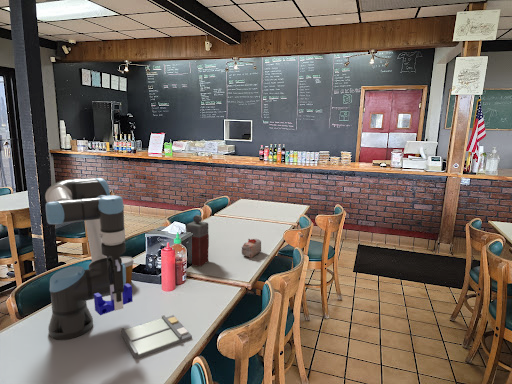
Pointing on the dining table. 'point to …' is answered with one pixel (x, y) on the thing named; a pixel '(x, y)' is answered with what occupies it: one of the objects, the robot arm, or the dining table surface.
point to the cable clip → (108, 306)
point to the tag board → (155, 336)
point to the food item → (251, 248)
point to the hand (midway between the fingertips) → (116, 305)
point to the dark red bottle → (199, 240)
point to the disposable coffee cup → (128, 268)
